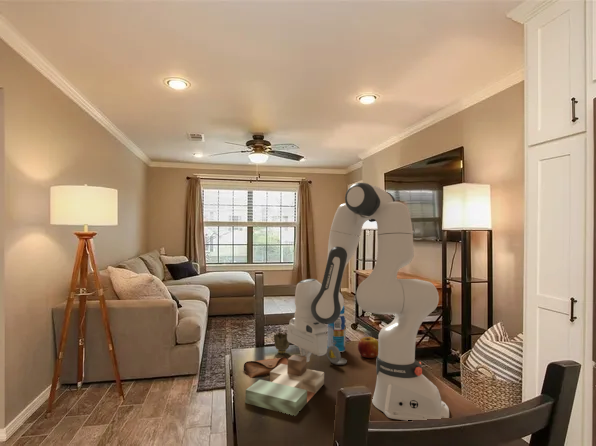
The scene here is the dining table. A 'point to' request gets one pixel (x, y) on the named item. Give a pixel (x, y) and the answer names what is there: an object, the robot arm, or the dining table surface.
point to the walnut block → (296, 365)
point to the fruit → (368, 347)
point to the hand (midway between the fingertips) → (305, 360)
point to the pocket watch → (335, 355)
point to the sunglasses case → (263, 366)
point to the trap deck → (285, 390)
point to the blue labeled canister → (337, 332)
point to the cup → (281, 342)
